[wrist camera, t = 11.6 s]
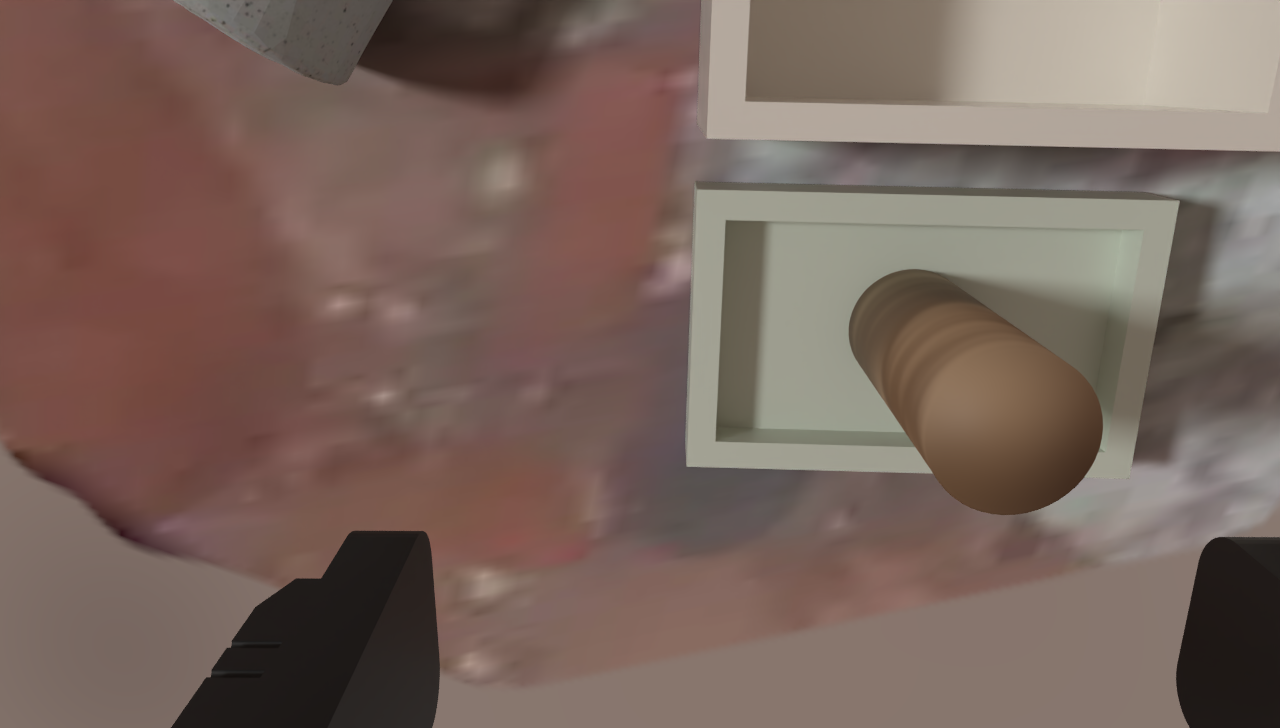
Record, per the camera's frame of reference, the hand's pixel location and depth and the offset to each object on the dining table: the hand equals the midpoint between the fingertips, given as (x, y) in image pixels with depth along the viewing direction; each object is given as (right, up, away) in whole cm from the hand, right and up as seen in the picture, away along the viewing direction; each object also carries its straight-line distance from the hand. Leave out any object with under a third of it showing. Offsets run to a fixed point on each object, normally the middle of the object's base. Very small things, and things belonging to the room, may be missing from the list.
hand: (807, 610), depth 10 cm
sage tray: (+8, +4, +26) cm, 27 cm away
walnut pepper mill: (+8, +4, +25) cm, 26 cm away
